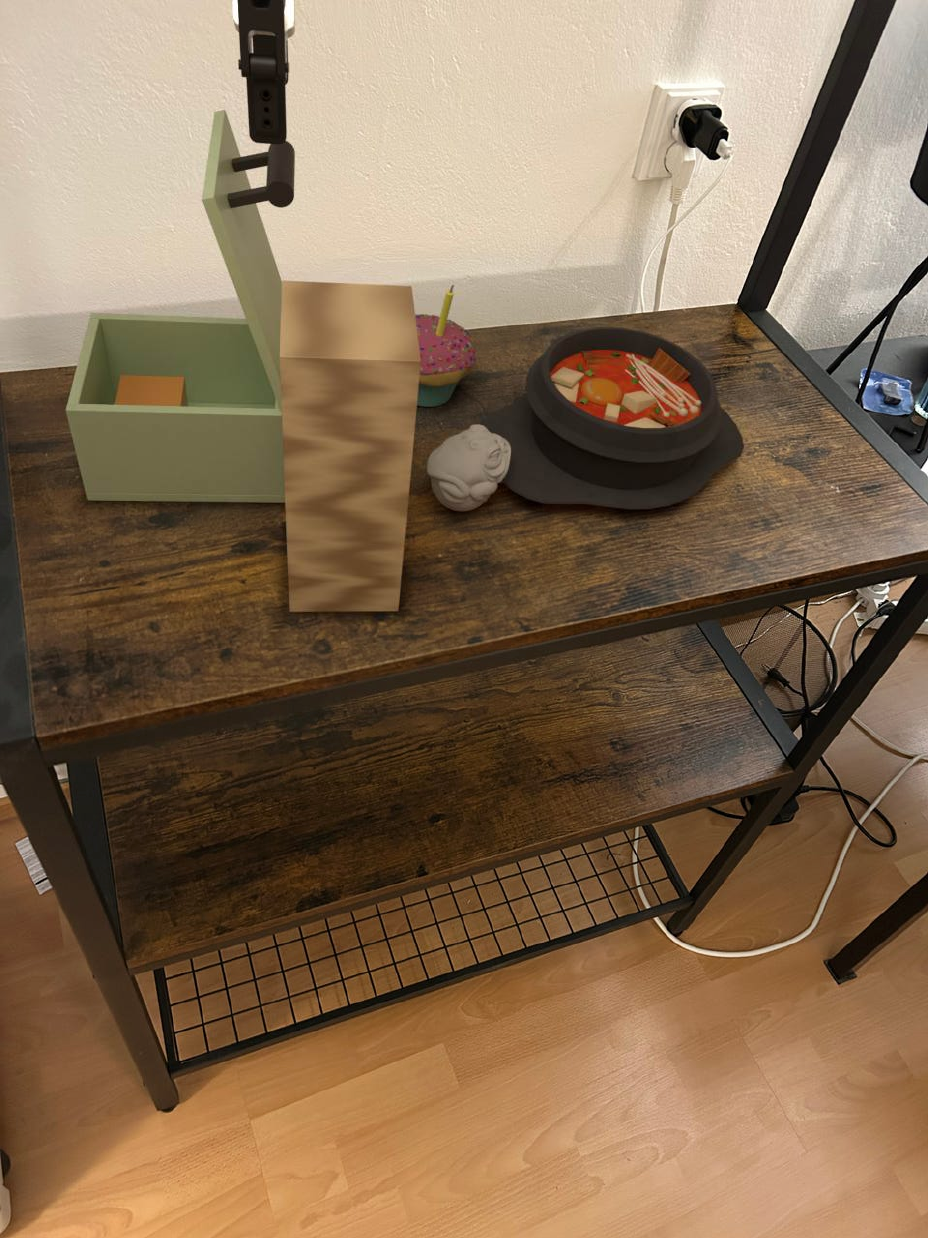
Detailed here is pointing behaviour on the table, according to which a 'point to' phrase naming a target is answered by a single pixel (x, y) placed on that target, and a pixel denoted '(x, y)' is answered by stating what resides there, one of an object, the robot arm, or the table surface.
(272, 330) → the lid
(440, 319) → the cupcake
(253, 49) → the robot arm
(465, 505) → the frog figurine
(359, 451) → the tall wooden pillar
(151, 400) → the orange rectangular box
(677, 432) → the casserole
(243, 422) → the chest
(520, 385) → the table surface
